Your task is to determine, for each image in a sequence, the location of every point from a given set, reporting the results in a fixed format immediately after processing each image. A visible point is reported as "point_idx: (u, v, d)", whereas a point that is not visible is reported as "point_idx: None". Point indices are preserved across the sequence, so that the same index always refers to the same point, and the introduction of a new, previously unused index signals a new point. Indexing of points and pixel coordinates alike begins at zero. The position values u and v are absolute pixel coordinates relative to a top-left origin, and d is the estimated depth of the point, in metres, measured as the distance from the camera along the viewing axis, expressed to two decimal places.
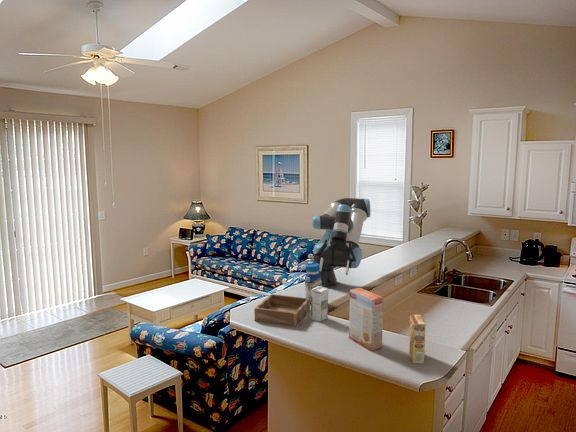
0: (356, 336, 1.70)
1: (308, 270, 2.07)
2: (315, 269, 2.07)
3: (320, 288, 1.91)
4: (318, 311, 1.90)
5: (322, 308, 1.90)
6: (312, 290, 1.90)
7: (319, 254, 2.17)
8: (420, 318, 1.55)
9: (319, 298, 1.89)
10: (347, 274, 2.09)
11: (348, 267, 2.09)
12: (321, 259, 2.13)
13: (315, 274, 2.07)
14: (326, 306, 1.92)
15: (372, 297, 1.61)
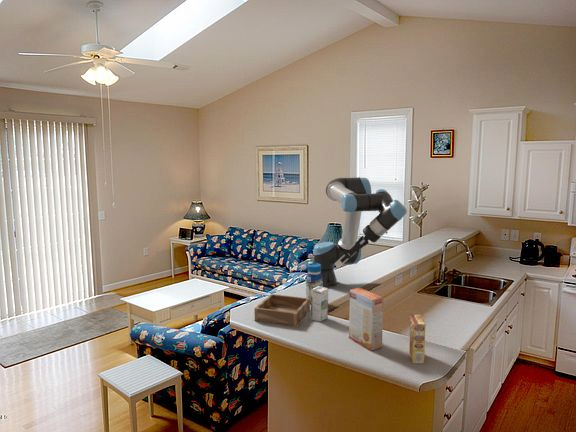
0: (356, 336, 1.70)
1: (309, 270, 2.07)
2: (317, 269, 2.06)
3: (320, 288, 1.91)
4: (318, 311, 1.90)
5: (322, 308, 1.90)
6: (312, 290, 1.90)
7: (348, 252, 1.75)
8: (420, 318, 1.55)
9: (319, 298, 1.89)
10: None
11: None
12: (347, 260, 1.78)
13: (316, 274, 2.07)
14: (326, 306, 1.92)
15: (372, 297, 1.61)
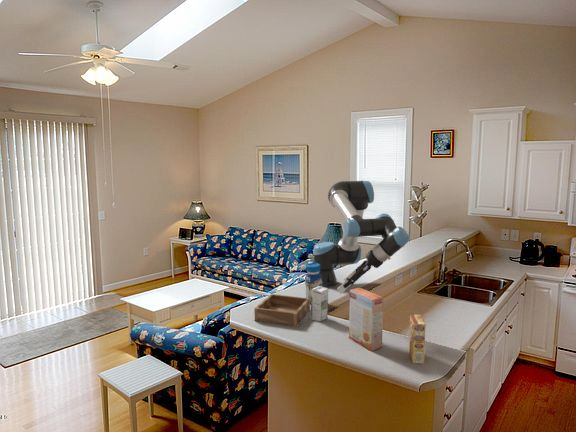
0: (356, 336, 1.70)
1: (308, 270, 2.07)
2: (315, 269, 2.06)
3: (320, 288, 1.91)
4: (318, 311, 1.90)
5: (322, 308, 1.90)
6: (312, 290, 1.90)
7: None
8: (420, 318, 1.55)
9: (319, 298, 1.89)
10: (345, 280, 1.94)
11: (351, 277, 1.93)
12: (350, 285, 1.79)
13: (315, 274, 2.07)
14: (326, 306, 1.92)
15: (372, 297, 1.61)
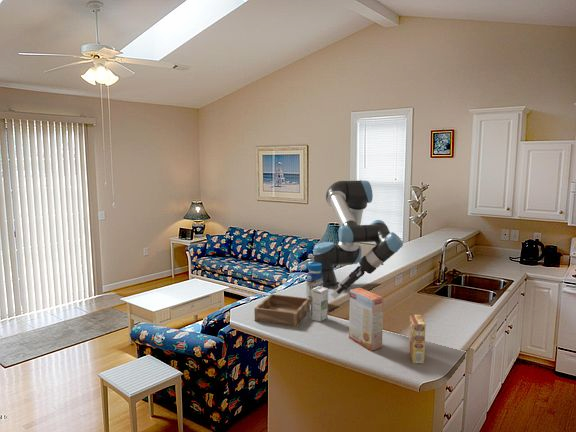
0: (356, 336, 1.70)
1: (310, 269, 2.08)
2: (317, 268, 2.08)
3: (320, 288, 1.91)
4: (318, 311, 1.90)
5: (322, 308, 1.90)
6: (312, 290, 1.90)
7: None
8: (420, 318, 1.55)
9: (319, 298, 1.89)
10: (339, 285, 1.94)
11: (345, 282, 1.93)
12: (343, 291, 1.79)
13: (317, 273, 2.08)
14: (326, 306, 1.92)
15: (372, 297, 1.61)
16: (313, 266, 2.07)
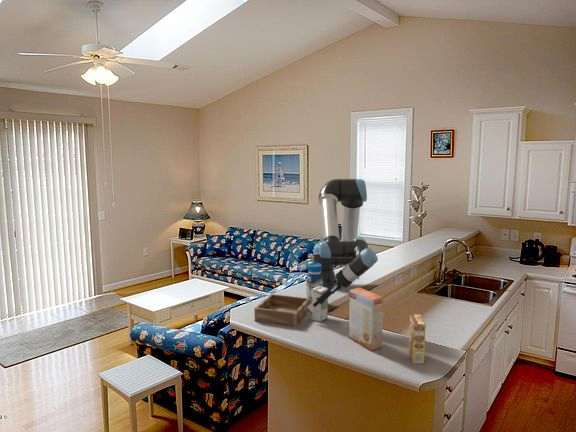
0: (356, 336, 1.70)
1: (310, 270, 2.08)
2: (317, 269, 2.07)
3: (320, 288, 1.91)
4: (318, 311, 1.90)
5: (322, 308, 1.90)
6: (312, 290, 1.90)
7: (320, 298, 1.85)
8: (420, 318, 1.55)
9: None
10: None
11: None
12: (319, 304, 1.88)
13: (317, 274, 2.07)
14: (326, 306, 1.92)
15: (372, 297, 1.61)
16: (313, 267, 2.06)
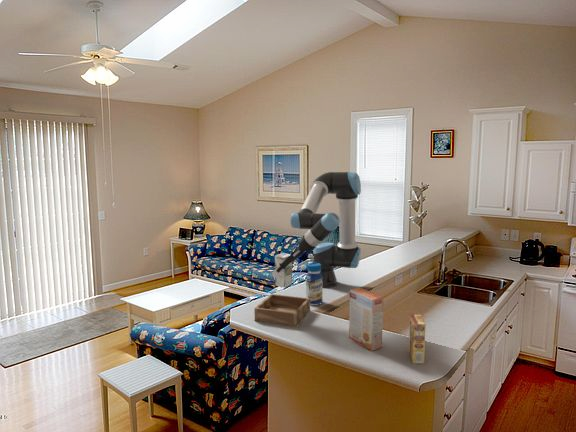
0: (356, 336, 1.70)
1: (309, 269, 2.08)
2: (316, 269, 2.07)
3: (284, 254, 1.93)
4: (281, 277, 1.91)
5: (286, 274, 1.91)
6: (276, 256, 1.92)
7: (283, 263, 1.87)
8: (420, 318, 1.55)
9: None
10: None
11: None
12: None
13: (316, 274, 2.08)
14: (290, 272, 1.93)
15: (372, 297, 1.61)
16: (312, 266, 2.07)
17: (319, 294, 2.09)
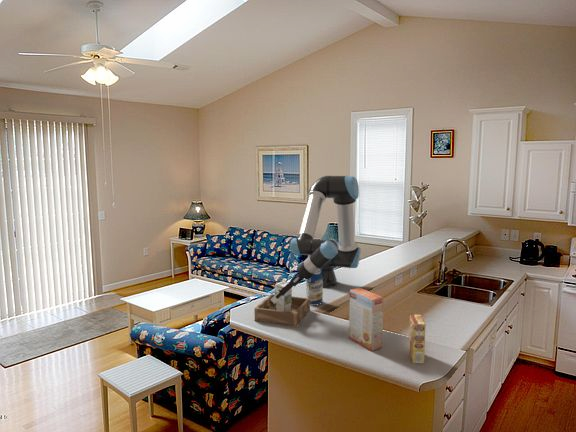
0: (356, 336, 1.70)
1: None
2: None
3: (284, 283, 1.95)
4: (281, 306, 1.94)
5: (285, 303, 1.94)
6: (276, 285, 1.94)
7: None
8: (420, 318, 1.55)
9: None
10: None
11: None
12: None
13: (316, 274, 2.07)
14: (290, 301, 1.96)
15: (372, 297, 1.61)
16: None
17: (319, 294, 2.09)
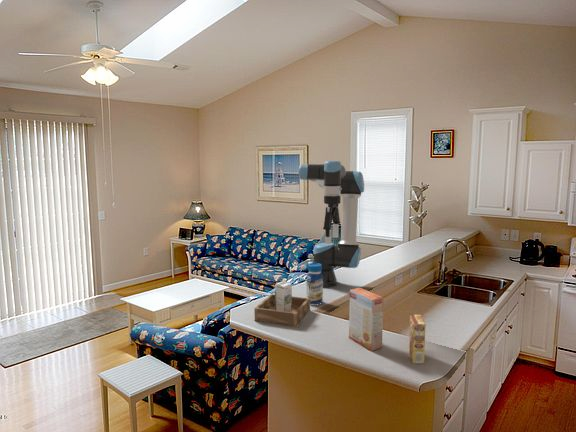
0: (356, 336, 1.70)
1: (310, 269, 2.08)
2: (317, 269, 2.07)
3: (284, 283, 1.95)
4: (281, 306, 1.94)
5: (285, 303, 1.94)
6: (276, 285, 1.94)
7: None
8: (420, 318, 1.55)
9: (282, 292, 1.93)
10: None
11: None
12: None
13: (316, 274, 2.08)
14: (290, 301, 1.96)
15: (372, 297, 1.61)
16: (312, 267, 2.07)
17: (319, 294, 2.09)
